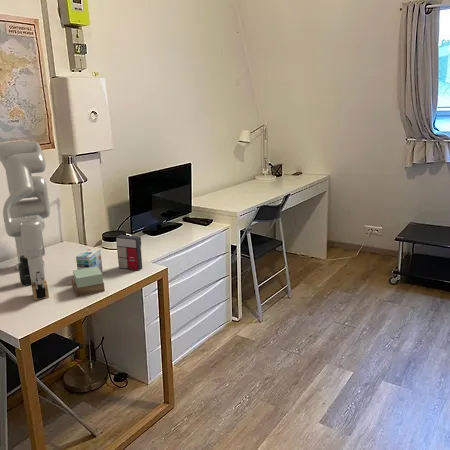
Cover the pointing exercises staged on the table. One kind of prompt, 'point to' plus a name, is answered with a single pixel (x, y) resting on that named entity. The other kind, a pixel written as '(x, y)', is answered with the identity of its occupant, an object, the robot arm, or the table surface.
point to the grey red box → (129, 252)
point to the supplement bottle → (24, 271)
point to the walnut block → (87, 289)
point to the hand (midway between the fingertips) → (40, 294)
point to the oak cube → (35, 290)
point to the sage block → (88, 276)
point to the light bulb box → (89, 259)
